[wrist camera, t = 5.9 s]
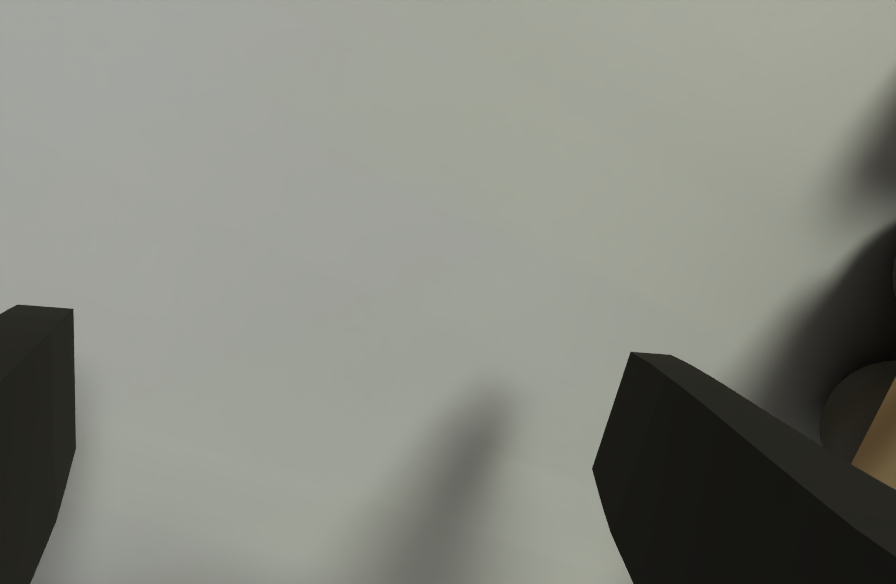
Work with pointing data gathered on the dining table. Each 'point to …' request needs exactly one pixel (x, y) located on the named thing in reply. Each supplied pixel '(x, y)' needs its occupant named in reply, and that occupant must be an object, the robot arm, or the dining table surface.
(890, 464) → the trolley
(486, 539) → the dining table surface
